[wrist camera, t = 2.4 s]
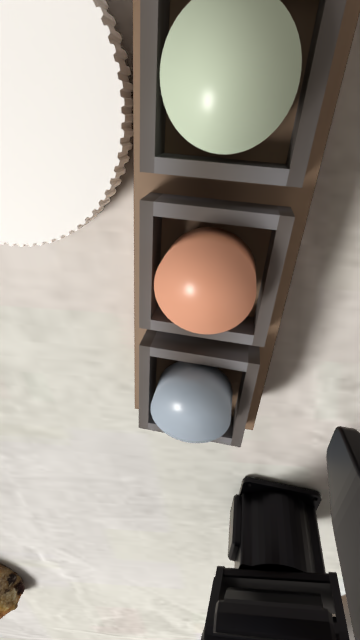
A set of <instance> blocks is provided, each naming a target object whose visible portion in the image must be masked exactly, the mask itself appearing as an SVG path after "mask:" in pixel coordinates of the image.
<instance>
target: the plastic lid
mask: <svg viewBox="0 0 360 640" xmlns="http://www.w3.org/2000/svg"><path fill="white" fill-rule="evenodd" d="M107 9H108V4H107V2H106V0H0V244H2V245H3V244H5V243H8V245H9V246H14V245H16V244H18V246H19V247H23V246H25V245H27V244H28V246H29V247H31V246H34V245H36V244H38V245H39V246H40V245H43V244H45V243H46V242H47V243H48V244H49V243H52V242H54V241H55V240H60V239H62V238H64V237H65V236H68V235H70V234H72V233H73V232H75V231H76V230H78V229H80V228H81V227H83V226H84V225H86V224H87V223H89V221H90V220H92V219H94V218H95V217H96V216H97V214H98V213H99V212H101V211H102V210H103V209H104V207H103V206H105V205H106V204H108V203H109V202H110V198H109V197H111V196H112V195H114V194H115V192H116V190H115V187H116V186H118V185H120V183H121V179H120V176H121V175H123V174H125V171H126V169H125V168H124V164H125V163H127V162H128V161H129V156H128V155H127V153H128V150H131V149H132V143H130V137H131V136H133V129H132V128H131V123H132V122H133V114H132V107H133V99H131V92H132V91H133V84H132V83H129V78H128V76H129V75H131V71H130V67H128V66H126V63H125V59H126V58H127V54H126V51H125V50H123V49H122V48H121V45H120V43H121V42H122V37H121V35H120V33H118V32H117V31H115V28H114V26H115V25H116V22H115V19H114V17H113V16H112V15H110V14H109V13H108V12H107Z"/></svg>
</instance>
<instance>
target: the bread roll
mask: <svg viewBox="0 0 360 640" xmlns="http://www.w3.org/2000/svg"><path fill="white" fill-rule="evenodd" d="M22 582H23V581H22V580H21V577H20V576H19V575H17V574H16V573H15V572H13V571H12V570H11V569H9V568H8V567H6V566H3V565H1V564H0V619H1V618H2V617H3V616H5V615H6V614H7V613H9V612H10V611H12V610H15V609H16V608H17V603H18V601H19V599H20V597H21V595H22V594H23V592H24V585H23V583H22Z"/></svg>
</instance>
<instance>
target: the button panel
mask: <svg viewBox="0 0 360 640" xmlns="http://www.w3.org/2000/svg"><path fill="white" fill-rule="evenodd" d="M190 1H191V0H133V138H134V330H135V409H139V428H143V429H148V430H153V431H158V432H163V431H162V430H161V429H160V428H159V427H158V426H157V425H156V423H155V422H154V420H153V418H152V415H151V402H152V399H153V396H154V393H155V391H156V388H157V385H158V382H159V379H160V377H161V375H162V373H163V372H164V370H165V369H166V368H167V367H169V366H170V365H172V364H174V363H177V362H180V361H183V362H189V363H195V364H201V365H207V366H213V367H216V368H218V369H219V370H221V371H222V372H223V373H224V374H225V375H226V376H227V378H228V379H229V381H230V383H231V385H232V391H233V395H232V409H231V422H230V426H229V428H228V430H227V431H226V432H225V433H224V434H223V435H222V436H221V437H219V438H217V439H215V440H213V441H211V442H216V443H221V444H226V445H232V446H237V447H241V443H242V439H243V434H244V430H245V429H249V430H253V427H254V423H255V419H256V415H257V412H258V408H259V404H260V400H261V396H262V392H263V388H264V384H265V380H266V376H267V372H268V369H269V365H270V361H271V357H272V353H273V349H274V345H275V341H276V337H277V333H278V329H279V326H280V322H281V318H282V314H283V310H284V306H285V302H286V298H287V294H288V290H289V286H290V283H291V279H292V275H293V271H294V267H295V263H296V259H297V255H298V251H299V247H300V243H301V240H302V236H303V232H304V228H305V224H306V220H307V216H308V212H309V208H310V204H311V201H312V197H313V193H314V189H315V185H316V181H317V177H318V173H319V169H320V165H321V161H322V158H323V154H324V150H325V146H326V142H327V138H328V134H329V130H330V126H331V122H332V118H333V115H334V111H335V107H336V103H337V99H338V95H339V91H340V87H341V83H342V79H343V75H344V72H345V68H346V64H347V60H348V56H349V52H350V48H351V44H352V40H353V36H354V32H355V29H356V25H357V21H358V17H359V13H360V0H280V1H281V2H282V3H283V4H284V5H285V7H286V8H287V10H288V11H289V13H290V15H291V17H292V19H293V21H294V23H295V25H296V28H297V31H298V34H299V39H300V44H301V53H302V67H301V76H300V82H299V86H298V90H297V93H296V96H295V99H294V101H293V104H292V106H291V108H290V110H289V112H288V114H287V115H286V117H285V118H284V120H283V121H282V123H281V124H280V125H279V126H278V128H277V129H276V130H275V131H274V132H273V133H272V134H271V135H270V136H269V137H268V138H266V139H265V140H264V141H262V142H261V143H260V144H258V145H256V146H254V147H253V148H250V149H248V150H246V151H243V152H239V153H235V154H215V153H210V152H207V151H204V150H201V149H199V148H197V147H195V146H194V145H192V144H191V143H189V142H188V141H187V140H186V139H185V138H184V137H183V136H182V135H181V134H180V133H179V132H178V131H177V129H176V128H175V126H174V125H173V123H172V122H171V120H170V118H169V116H168V114H167V111H166V109H165V106H164V103H163V99H162V94H161V87H160V63H161V57H162V52H163V48H164V44H165V41H166V38H167V36H168V33H169V31H170V29H171V27H172V25H173V23H174V21H175V20H176V18H177V17H178V15H179V14H180V13H181V11H182V10H183V9H184V8H185V6H186V5H187V4H188V3H189V2H190ZM201 227H215V228H221V229H224V230H227V231H229V232H231V233H233V234H235V235H236V236H238V237H239V238H240V239H241V240H242V241H243V242H244V243H245V244H246V245H247V246H248V248H249V249H250V251H251V253H252V255H253V258H254V261H255V266H256V299H255V302H254V305H253V308H252V310H251V311H250V313H249V315H248V316H247V317H246V318H245V319H244V320H243V321H242V322H241V323H240V324H239V325H237V326H236V327H234V328H232V329H230V330H228V331H225V332H222V333H218V334H198V333H193V332H190V331H187V330H185V329H183V328H181V327H179V326H177V325H176V324H174V323H173V322H172V321H171V320H170V319H168V318H167V317H166V315H165V314H164V313H163V312H162V310H161V308H160V307H159V305H158V303H157V300H156V297H155V292H154V278H155V274H156V271H157V268H158V266H159V264H160V263H161V261H162V259H163V258H164V256H165V255H166V253H167V252H168V250H169V248H170V247H171V245H172V244H173V243H174V242H175V241H176V240H177V239H178V238H179V237H180V236H182V235H183V234H184V233H186V232H188V231H191V230H193V229H197V228H201ZM164 433H165V432H164Z"/></svg>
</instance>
